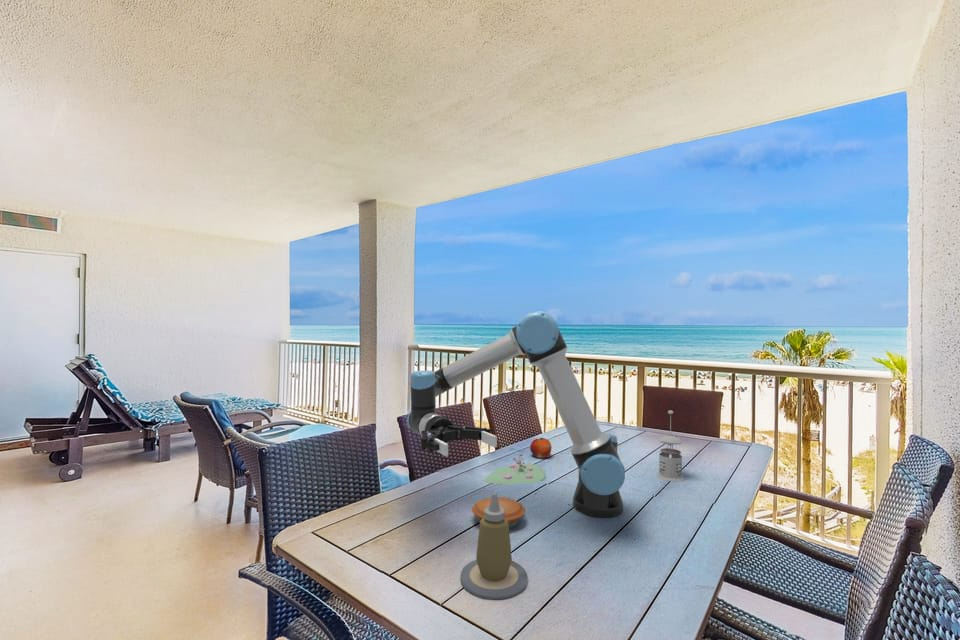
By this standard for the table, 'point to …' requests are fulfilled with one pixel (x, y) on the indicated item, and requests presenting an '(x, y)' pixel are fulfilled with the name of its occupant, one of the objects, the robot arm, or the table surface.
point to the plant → (516, 474)
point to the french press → (670, 459)
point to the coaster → (494, 582)
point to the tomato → (541, 447)
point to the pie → (509, 505)
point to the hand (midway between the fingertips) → (472, 446)
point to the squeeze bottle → (494, 543)
